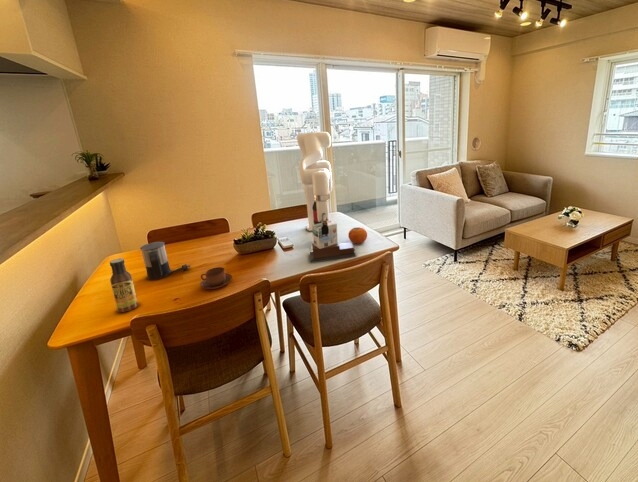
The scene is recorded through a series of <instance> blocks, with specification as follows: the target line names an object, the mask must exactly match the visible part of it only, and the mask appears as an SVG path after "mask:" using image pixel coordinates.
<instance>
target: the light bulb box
mask: <svg viewBox="0 0 638 482" xmlns="http://www.w3.org/2000/svg"><path fill="white" fill-rule="evenodd" d="M327 223H328V231H329V234H323V235H322V229H321V226H322V223H319V224H315V225H312V229H313V231H312V240H313V243H314V245H315V246H316V247H318V248H319V249H321V248H325V247H328V246H331V245H334V244H338V243H339V241H338V224H337V223H336V222H335V221H332V220H329V221H327Z"/></svg>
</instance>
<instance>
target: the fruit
mask: <svg viewBox="0 0 638 482" xmlns="http://www.w3.org/2000/svg"><path fill="white" fill-rule="evenodd" d="M347 236H348V239H349V241H350V242H351V243H352V244H353V243H354V244H359V245H360V244H363V243H364V242H365V241H366V240H367V238H368V231H367V230H366V229H365V228H363V227H359V226H358V227H353V228H351V229H350V230H349V231H348V234H347Z"/></svg>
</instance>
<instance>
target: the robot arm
mask: <svg viewBox="0 0 638 482" xmlns="http://www.w3.org/2000/svg"><path fill="white" fill-rule="evenodd" d="M296 141H297V144H298V147H299V149H300V151H301V153H302V156H303V157H302V159H301V161H300V163H299V175H300V176H299V177H300V181H301V183H302V184H303V190H304V195H305V201H306V210H307V211H306V212H307V222H308V224H307V225H306V230H307V231H309V232H313V229H312V225H314V218H313V209H312V207H313V204H314V201H315V202H316V207H317V218H318V222H320V223H322V226H321V229H322V235H323V234H329V231H328V223H327V221H328V219H329V201H330V200H331V197H330V193H332V192H333V175H332V167H331V163H330V162H329V161H328V160H322V159H323V150H322V148H330V147H331V145H332V138H331V134H330V133H329V132H328V131H311V132H304V133H300V134H298V135H297V137H296Z"/></svg>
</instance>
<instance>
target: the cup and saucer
mask: <svg viewBox="0 0 638 482" xmlns="http://www.w3.org/2000/svg"><path fill="white" fill-rule="evenodd" d="M203 276H205V278H204V277H203ZM200 279H201V282H200V287H201V288H203V289H206V290H216V289H220V288H223V287H225V286H226V285H228V284H229V283H230V282H231V281H232V279H233V276H232V274H231V273H226V270H225V268H224V267H221V266H217V267H213V268H210V269H208V270H207V271H205V273H202V274H200Z"/></svg>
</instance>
